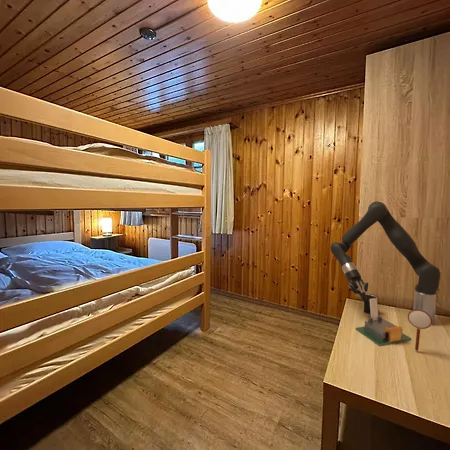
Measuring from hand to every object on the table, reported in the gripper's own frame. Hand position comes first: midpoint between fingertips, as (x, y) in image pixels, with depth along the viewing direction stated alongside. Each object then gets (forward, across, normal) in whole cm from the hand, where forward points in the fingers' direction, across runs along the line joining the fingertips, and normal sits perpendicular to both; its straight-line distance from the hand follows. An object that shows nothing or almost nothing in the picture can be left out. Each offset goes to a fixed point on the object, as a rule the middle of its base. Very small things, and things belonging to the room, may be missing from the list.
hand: (365, 300), depth 139 cm
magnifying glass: (+29, +3, -10) cm, 31 cm away
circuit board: (+18, 0, +1) cm, 18 cm away
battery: (+3, +13, +16) cm, 21 cm away
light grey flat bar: (+6, 0, -3) cm, 7 cm away
